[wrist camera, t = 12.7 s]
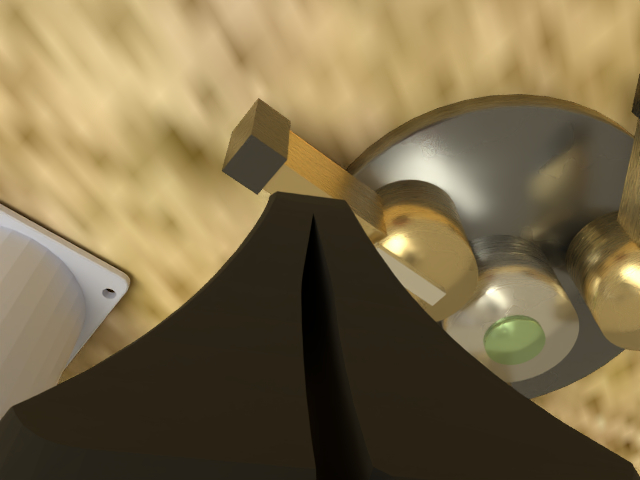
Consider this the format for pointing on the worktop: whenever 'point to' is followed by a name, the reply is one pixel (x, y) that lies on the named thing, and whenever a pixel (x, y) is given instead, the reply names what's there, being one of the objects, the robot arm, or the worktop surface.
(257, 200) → the worktop surface
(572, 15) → the worktop surface
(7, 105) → the worktop surface
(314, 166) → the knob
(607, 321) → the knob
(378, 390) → the robot arm
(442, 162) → the level plate
